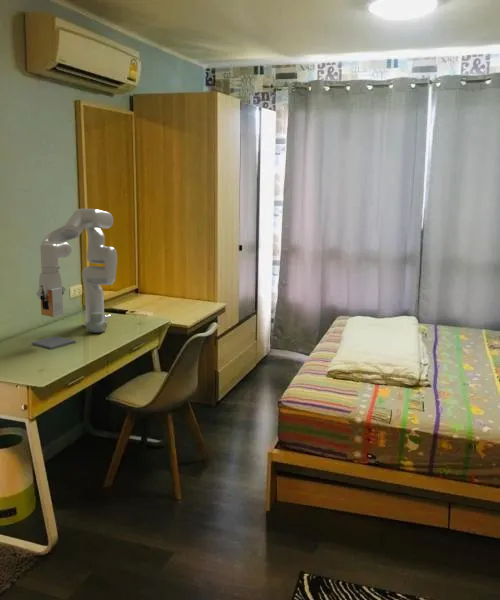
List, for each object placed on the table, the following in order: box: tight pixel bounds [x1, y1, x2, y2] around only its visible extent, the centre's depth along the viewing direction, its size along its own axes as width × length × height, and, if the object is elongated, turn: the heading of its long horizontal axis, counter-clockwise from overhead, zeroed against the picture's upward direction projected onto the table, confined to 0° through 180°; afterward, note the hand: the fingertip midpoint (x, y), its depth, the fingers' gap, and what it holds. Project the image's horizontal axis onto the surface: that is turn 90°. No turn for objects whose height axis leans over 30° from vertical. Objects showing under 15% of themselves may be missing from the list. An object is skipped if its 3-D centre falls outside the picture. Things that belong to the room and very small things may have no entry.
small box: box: [40, 288, 64, 318], centre depth 279 cm, size 8×6×13 cm
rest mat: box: [31, 335, 77, 350], centre depth 283 cm, size 14×14×1 cm
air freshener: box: [85, 312, 108, 334], centre depth 304 cm, size 11×8×10 cm
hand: (52, 307), depth 279 cm, fingers closed on small box, 6 cm apart
